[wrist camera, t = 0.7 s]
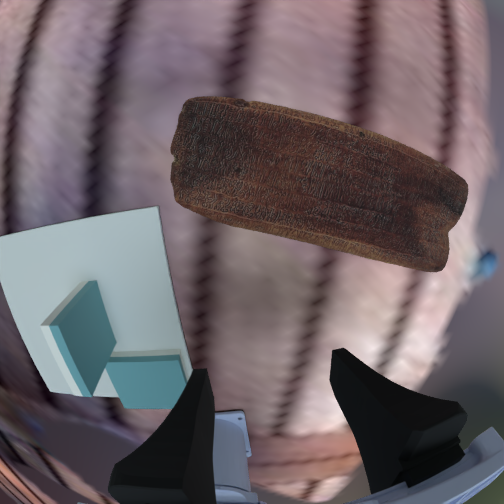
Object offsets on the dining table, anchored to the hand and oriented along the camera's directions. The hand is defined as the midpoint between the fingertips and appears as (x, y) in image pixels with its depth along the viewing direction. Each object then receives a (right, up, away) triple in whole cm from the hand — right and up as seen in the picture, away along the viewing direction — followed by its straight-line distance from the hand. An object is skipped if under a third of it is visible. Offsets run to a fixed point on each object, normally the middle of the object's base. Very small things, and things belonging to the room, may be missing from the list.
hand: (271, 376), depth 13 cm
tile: (-14, +1, +9) cm, 16 cm away
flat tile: (-10, -6, +11) cm, 16 cm away
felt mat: (-16, 0, +9) cm, 18 cm away
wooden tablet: (+6, +11, +9) cm, 15 cm away
